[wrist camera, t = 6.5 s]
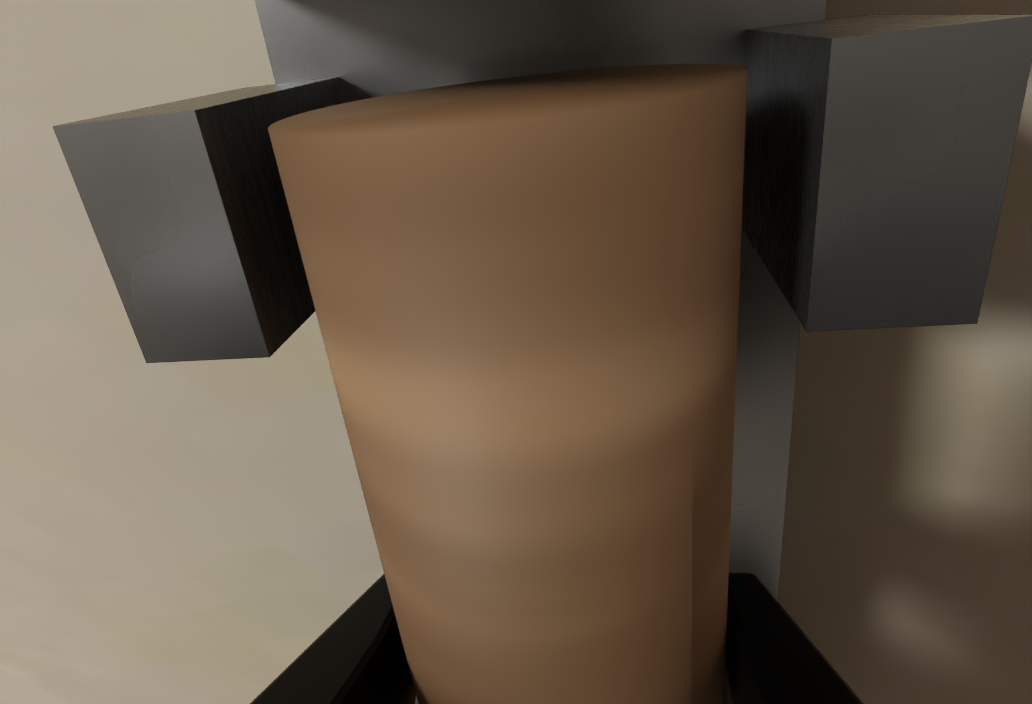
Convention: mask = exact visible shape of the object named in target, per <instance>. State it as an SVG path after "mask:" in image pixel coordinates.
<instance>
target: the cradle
mask: <svg viewBox="0 0 1032 704" xmlns="http://www.w3.org/2000/svg"><path fill="white" fill-rule="evenodd" d="M255 4H256V8H257V12H258V16H259V20H260V24H261V27H262V31H263V35H264V39H265V43H266V47H267V51H268V55H269V59H270V63H271V67H272V71H273V75H274V79H275V83H276V84H274V85H266V86H257V87H249V88H241V89H236V90H231V91H226V92H221V93H216V94H211V95H206V96H201V97H196V98H191V99H186V100H181V101H176V102H171V103H166V104H161V105H156V106H151V107H146V108H141V109H136V110H131V111H126V112H121V113H116V114H112V115H107V116H102V117H97V118H92V119H87V120H82V121H77V122H72V123H67V124H62V125H57V126H53V129H54V131H55V134H56V136H57V139H58V141H59V144H60V146H61V149H62V151H63V154H64V156H65V159H66V161H67V164H68V166H69V169H70V171H71V174H72V176H73V179H74V182H75V184H76V187H77V189H78V192H79V194H80V197H81V199H82V202H83V204H84V207H85V209H86V212H87V214H88V217H89V219H90V222H91V224H92V227H93V229H94V232H95V234H96V237H97V239H98V242H99V245H100V247H101V250H102V252H103V255H104V257H105V260H106V262H107V265H108V267H109V270H110V272H111V275H112V277H113V280H114V282H115V285H116V287H117V290H118V292H119V295H120V297H121V300H122V302H123V305H124V308H125V310H126V313H127V315H128V318H129V320H130V323H131V325H132V328H133V330H134V333H135V335H136V338H137V340H138V343H139V345H140V348H141V350H142V353H143V355H144V358H145V360H146V363H157V362H178V361H199V360H220V359H241V358H262V357H270V356H271V355H272V354H273V353H274V352H275V351H276V350H277V349H278V348H279V347H280V346H281V345H282V344H283V343H284V342H285V341H286V340H287V339H288V338H289V337H290V336H291V335H292V334H293V333H294V332H295V331H296V330H297V329H298V328H299V327H300V326H301V325H302V324H303V323H304V322H305V321H306V320H307V319H308V318H309V317H310V316H311V315H312V314H313V313H314V312H315V311H316V310H315V307H314V303H313V299H312V295H311V291H310V288H309V284H308V280H307V276H306V272H305V268H304V265H303V261H302V257H301V253H300V249H299V246H298V242H297V238H296V234H295V230H294V226H293V223H292V219H291V215H290V211H289V207H288V204H287V200H286V196H285V192H284V188H283V184H282V181H281V177H280V173H279V169H278V165H277V162H276V158H275V154H274V150H273V146H272V142H271V139H270V135H269V131H268V127H269V126H270V125H271V124H273V123H275V122H277V121H280V120H282V119H285V118H288V117H291V116H294V115H297V114H301V113H305V112H308V111H312V110H316V109H321V108H325V107H329V106H334V105H338V104H343V103H348V102H353V101H358V100H363V99H368V98H374V97H379V96H385V95H391V94H397V93H403V92H409V91H415V90H421V89H428V88H434V87H441V86H448V85H455V84H462V83H469V82H477V81H485V80H492V79H500V78H509V77H517V76H526V75H535V74H544V73H554V72H564V71H575V70H586V69H598V68H610V67H624V66H640V65H660V64H724V65H734V66H739V67H743V68H745V69H747V96H746V122H745V149H744V176H743V202H742V229H741V256H740V283H739V309H738V336H737V363H736V389H735V416H734V443H733V469H732V496H731V523H730V549H729V572H749V573H753V574H754V575H756V576H757V577H758V579H759V580H760V581H761V582H762V583H763V584H764V586H765V587H766V588H767V589H768V590H769V592H770V593H771V594H772V595H773V596H774V598H775V599H776V600H777V601H778V589H779V577H780V565H781V552H782V540H783V528H784V515H785V503H786V491H787V479H788V466H789V454H790V442H791V429H792V417H793V405H794V392H795V380H796V368H797V356H798V343H799V331H800V322H801V324H802V325H803V327H804V328H805V330H806V332H810V331H831V330H852V329H873V328H894V327H915V326H936V325H957V324H977V322H978V317H979V312H980V308H981V303H982V298H983V293H984V288H985V283H986V279H987V274H988V269H989V264H990V259H991V255H992V250H993V245H994V240H995V235H996V231H997V226H998V221H999V216H1000V211H1001V207H1002V202H1003V197H1004V192H1005V187H1006V182H1007V178H1008V173H1009V168H1010V163H1011V158H1012V154H1013V149H1014V144H1015V139H1016V134H1017V130H1018V125H1019V120H1020V115H1021V110H1022V105H1023V101H1024V96H1025V91H1026V86H1027V81H1028V77H1029V72H1030V67H1031V62H1032V15H864V16H856V17H847V18H839V19H830V20H825V11H826V0H255ZM415 704H418V700H417V696H416V700H415ZM724 704H729V699H728V691H727V683H726V676H725V683H724Z"/></svg>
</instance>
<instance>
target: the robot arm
mask: <svg viewBox="0 0 1032 704" xmlns="http://www.w3.org/2000/svg"><path fill="white" fill-rule="evenodd" d="M725 676H726V683H727V691H728V699H729V704H864V703H863V702H862V701H861V700H860V698H859V697H858V696H857V695H856V694H855V692H854V691H853V690H852V689H851V688H850V687H849V685H848V684H847V683H846V682H845V681H844V679H843V678H842V677H841V676H840V675H839V673H838V672H837V671H836V670H835V669H834V668H833V666H832V665H831V664H830V663H829V662H828V660H827V659H826V658H825V657H824V656H823V654H822V653H821V652H820V651H819V650H818V649H817V647H816V646H815V645H814V644H813V643H812V641H811V640H810V639H809V638H808V637H807V636H806V634H805V633H804V632H803V631H802V630H801V628H800V627H799V626H798V625H797V624H796V622H795V621H794V620H793V619H792V618H791V617H790V615H789V614H788V613H787V612H786V611H785V609H784V608H783V607H782V606H781V605H780V603H779V602H778V601H777V600H776V599H775V598H774V596H773V595H772V594H771V593H770V592H769V590H768V589H767V588H766V587H765V586H764V584H763V583H762V582H761V581H760V580H759V579H758V577H757V576H756V575H754V574H753V573H749V572H729V576H728V603H727V630H726V656H725ZM415 700H416V693H415V689H414V685H413V681H412V677H411V673H410V670H409V666H408V662H407V658H406V654H405V650H404V647H403V643H402V639H401V635H400V631H399V628H398V624H397V620H396V616H395V612H394V608H393V605H392V601H391V597H390V593H389V589H388V586H387V582H386V578H385V574H383V575H382V576H381V577H380V578H379V579H378V580H377V581H376V582H375V583H374V584H373V585H372V586H371V587H370V588H369V589H368V590H367V591H366V592H365V593H364V594H363V595H362V596H361V597H360V598H358V599H357V600H356V601H355V602H354V603H353V604H352V605H351V606H350V607H349V608H348V609H347V610H346V611H345V612H344V613H343V614H342V615H341V616H340V617H339V618H338V619H337V620H336V621H335V622H334V623H333V624H332V625H331V626H330V627H329V628H328V629H327V630H326V631H324V632H323V633H322V634H321V635H320V636H319V637H318V638H317V639H316V640H315V641H314V642H313V643H312V644H311V645H310V646H309V647H308V648H307V649H306V650H305V651H304V652H303V653H302V654H301V655H300V656H299V657H298V658H297V659H296V660H295V661H294V662H293V663H292V664H290V665H289V666H288V667H287V668H286V669H285V670H284V671H283V672H282V673H281V674H280V675H279V676H278V677H277V678H276V679H275V680H274V681H273V682H272V683H271V684H270V685H269V686H268V687H267V688H266V689H265V690H264V691H263V692H262V693H261V694H260V695H259V696H257V697H256V698H255V699H254V700H253V701H252V702H251V703H250V704H415Z"/></svg>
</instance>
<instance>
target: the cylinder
mask: <svg viewBox="0 0 1032 704" xmlns="http://www.w3.org/2000/svg"><path fill="white" fill-rule="evenodd" d="M746 96H747V69H745V68H743V67H739V66H734V65H724V64H660V65H640V66H624V67H610V68H598V69H586V70H575V71H564V72H554V73H544V74H535V75H526V76H517V77H509V78H500V79H492V80H485V81H477V82H469V83H462V84H455V85H448V86H441V87H434V88H428V89H421V90H415V91H409V92H403V93H397V94H391V95H385V96H379V97H374V98H368V99H363V100H358V101H353V102H348V103H343V104H338V105H334V106H329V107H325V108H321V109H316V110H312V111H308V112H305V113H301V114H297V115H294V116H291V117H288V118H285V119H282V120H280V121H277V122H275V123H273V124H271V125H270V126H269V127H268V131H269V135H270V139H271V142H272V146H273V150H274V154H275V158H276V162H277V165H278V169H279V173H280V177H281V181H282V184H283V188H284V192H285V196H286V200H287V204H288V207H289V211H290V215H291V219H292V223H293V226H294V230H295V234H296V238H297V242H298V246H299V249H300V253H301V257H302V261H303V265H304V268H305V272H306V276H307V280H308V284H309V288H310V291H311V295H312V299H313V303H314V307H315V310H316V314H317V318H318V322H319V326H320V330H321V333H322V337H323V341H324V345H325V349H326V353H327V356H328V360H329V364H330V368H331V372H332V375H333V379H334V383H335V387H336V391H337V395H338V398H339V402H340V406H341V410H342V414H343V417H344V421H345V425H346V429H347V433H348V437H349V440H350V444H351V448H352V452H353V456H354V459H355V463H356V467H357V471H358V475H359V479H360V482H361V486H362V490H363V494H364V498H365V502H366V505H367V509H368V513H369V517H370V521H371V524H372V528H373V532H374V536H375V540H376V544H377V547H378V551H379V555H380V559H381V563H382V566H383V570H384V574H385V578H386V582H387V586H388V589H389V593H390V597H391V601H392V605H393V608H394V612H395V616H396V620H397V624H398V628H399V631H400V635H401V639H402V643H403V647H404V650H405V654H406V658H407V662H408V666H409V670H410V673H411V677H412V681H413V685H414V689H415V693H416V696H417V700H418V704H724V683H725V656H726V630H727V603H728V576H729V549H730V523H731V496H732V469H733V443H734V416H735V389H736V363H737V336H738V309H739V283H740V256H741V229H742V202H743V176H744V149H745V122H746Z"/></svg>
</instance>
